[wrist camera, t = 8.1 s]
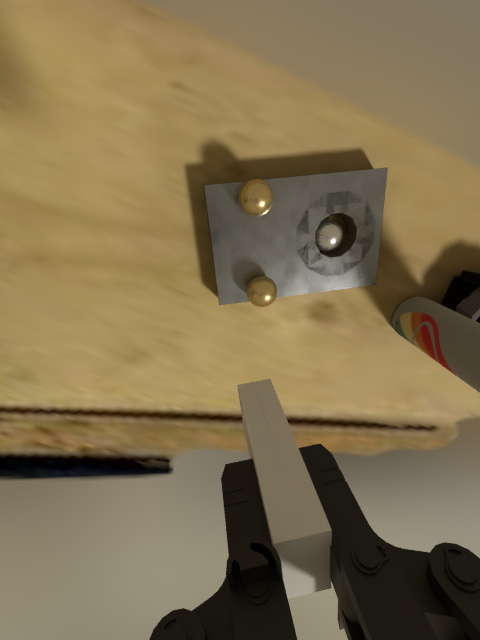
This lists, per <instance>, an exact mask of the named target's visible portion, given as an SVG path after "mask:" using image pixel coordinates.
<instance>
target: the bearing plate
mask: <svg viewBox="0 0 480 640" xmlns="http://www.w3.org/2000/svg"><path fill="white" fill-rule="evenodd" d="M387 169H388V168H378V169H367V170H357V171H347V172H337V173H326V174H316V175H306V176H295V177H285V178H275V179H265V180H263V181H265V182H267V183H268V184H269V185H270V187H271V188H272V191H273V194H274V201H273V205H272V207H271V209H270V210H269V211H268V212H267V213H266V214H264V215H262V216H259V217H253V216H250V215H248V214H246V213H245V212H244V211H243V210H242V208H241V207H240V204H239V193H240V190H241V188H242V186H243V185H244V184H245V183H246V182H248V181H244V182H234V183H223V184H213V185H204V191H205V199H206V207H207V215H208V222H209V230H210V238H211V246H212V254H213V262H214V270H215V278H216V286H217V294H218V300H219V305H225V304H232V303H240V302H247V301H249V299H248V297H247V286H248V284H249V282H250V281H251V280H252V279H254V278H255V277H258V276H266V277H269V278H271V279H272V280H273V281H274V282H275V284H276V286H277V291H278V292H277V297H276V298H278V297H286V296H293V295H301V294H308V293H316V292H324V291H331V290H339V289H346V288H354V287H362V286H369V285H376V278H377V268H378V258H379V248H380V239H381V229H382V219H383V209H384V199H385V189H386V179H387ZM334 213H337V214H339V215H341V216H342V218H343V220H344V222H345V224H346V236H345V238H344V240H343V241H342V243H341V245H340V246H339V247H338V248H336V249H335V250H333V251H332V252H328V253H320V252H319V250H318V248H317V246H316V245H315V232H316V230H317V228H318V226H319V224H320V223H321V221H322V220H323V219H325V218H326V217H328V216H329V215H330V214H334Z"/></svg>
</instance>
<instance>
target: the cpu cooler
mask: <svg viewBox="0 0 480 640" xmlns="http://www.w3.org/2000/svg"><path fill="white" fill-rule="evenodd" d="M454 277H455V276H454ZM456 281H457V282H456ZM454 283H455V285H453V284H454ZM450 287H451V288H450ZM449 288H450V289H449ZM449 288H448V290H449V291H448V292H449V293H446V295H445V296H447V295H448V296H447V297H444V298H443V300H444V299H445V300H444V302H443V303H442V304H441V305H442V306H444V307H447V308H449V309H451V310H453V311H455V312H457V313H459V314H461V315H463V316H465V317H468V318H470V319H472V320H474V321H476V322H478V323H480V274H479V273H474V272H469V271H464V270H463V273H462V275H461V277H457V278H456V279H455V281H453V282H452V284H450V286H449ZM450 293H451V294H450ZM443 300H442V301H443Z"/></svg>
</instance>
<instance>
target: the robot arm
mask: <svg viewBox="0 0 480 640" xmlns="http://www.w3.org/2000/svg"><path fill="white" fill-rule="evenodd" d="M237 386H238V393H239V399H240V406H241V412H242V419H243V425H244V432H245V436H246V441H247V446H248V450H249V455H250V459H249V460H244V461H239V462H234V463H230V464H226V465H225V468H224V471H223V475H222V477H221V481H222V491H223V501H224V510H225V521H226V531H227V542H228V551H229V558H228V560H227V568H226V569H227V570H226V578H225V580H224V582H223V584H222V586H221V587H220V588H219V590H218V591H217V592H216V593H215V594H214V595H213V596H212V597H211V598H209V599H208V600H206V601H205V602H204V603H202V604H201V605H200V606H198V607H197V608H195V609H194V610H192V611H189V610H187V609H184V608H183V609H178V610H173V611H172V612H170V613H169V614H167V615H166V616H164V617H163V618H162V619H161V621H160V622H159V623H158V625H157V626H156V627H155V628H154V630H153V633H152V635H151V637H150V640H297V637H296V633H295V628H294V624H293V620H292V616H291V611H290V607H289V603H288V599H290V598H294V597H297V596H301V595H305V594H309V593H313V592H317V591H321V590H325V589H329V588H331V581H332V583H333V586H334V589H335V592H336V594H337V597H338V622H339V628H340V630H341V629H345V631H346V634H347V637H348V640H480V558H478V557H477V556H476V555H475V554H473V553H472V552H471V551H470V550H468V549H466V548H463V547H461V546H459V545H457V544H452V543H441V544H438V545H436V546H435V547H434V548H433V549H432V550H431V552H430V553H428V552H422V551H415V550H408V549H402V548H398V547H395V546H393V545H391V544H389V543H387V542H385V541H384V540H383V539H381V538H380V537H378V535H377V534H376V533H375V532H374V531H373V530H372V528H371V527H370V525H369V524H368V522H367V520H366V518H365V516H364V514H363V513H362V511H361V509H360V507H359V505H358V503H357V501H356V500H355V497H354V495H353V494H352V492H351V490H350V488H349V486H348V484H347V482H346V481H345V478H344V476H343V474H342V472H341V470H339V467H338V465H337V463H336V461H335V459H334V457H333V455H332V454H331V453H330V452H329V451H328V450H327V449H326V448H325V447H324V446H323V445H321V444H316V445H311V446H307V447H302V448H298V446H297V444H296V441H295V439H294V436H293V434H292V431H291V429H290V426H289V424H288V421H287V419H286V416H285V414H284V412H283V409H282V407H281V404H280V402H279V399H278V397H277V394H276V392H275V389H274V387H273V385H272V382H271V380H270V379H267V380H262V381H256V382H251V383H246V384H240V385H237Z"/></svg>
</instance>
